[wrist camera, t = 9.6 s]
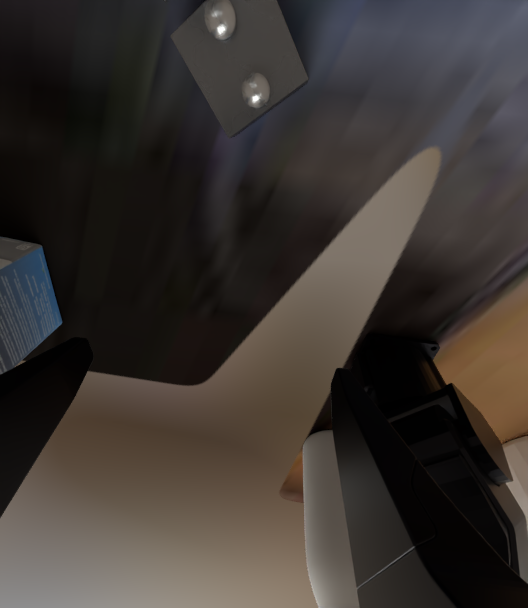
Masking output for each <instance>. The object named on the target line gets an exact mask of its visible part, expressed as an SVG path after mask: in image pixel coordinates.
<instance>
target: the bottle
mask: <svg viewBox="0 0 528 608" xmlns="http://www.w3.org/2000/svg"><path fill="white" fill-rule="evenodd" d="M502 447H503V450H504V453H505V456H506V459H507V462H508V465H509V468H510V471H511V474H512V477H513V481H512V482H508V483H506V485H507V486H508V488H509V489H510V491H511V493H512V494H513V496H514V498H515V499H516V501H517V503H518V504H519V506H520V508H521V509H522V511H523V513H524V515H525V517H526V521H527V532H528V436H524V437H521V438H517V439H514V440H511V441H509V442H507V443H505V444H502Z"/></svg>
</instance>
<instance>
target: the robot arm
mask: <svg viewBox="0 0 528 608" xmlns="http://www.w3.org/2000/svg"><path fill="white" fill-rule="evenodd" d="M370 339H372V340H370ZM431 347H432V348H431ZM439 349H440V347H439V345H438V343H437V342H434V341H427V340H419V339H411V338H403V337H395V336H387V335H379V334H368V335H367V336H366V337H365V339H364V342H363V344H362V347H361V350H360V352H358V353H357V354H356V356H355V359H354V362H353V364H352V367H351V369H350V370H349V369H344V368H337V369H336V371H335V374H334V377H333V379H332V382H331V410H332V431H333V438H334V445H335V451H336V458H337V464H338V471H339V477H340V484H341V490H342V497H343V503H344V510H345V516H346V523H347V529H348V536H349V542H350V549H351V555H352V562H353V568H354V575H355V581H356V587H357V595H358V601H359V608H528V532H527V521H526V517H525V515H524V513H523V511H522V509H521V508H520V506H519V504H518V503H517V501H516V499H515V498H514V496H513V494H512V493H511V491H510V489H509V488H508V486H507V485H506V483H508V482H512V481H513V477H512V474H511V471H510V468H509V465H508V462H507V459H506V456H505V453H504V450H503V447H502V444H501V442H500V440H499V439H498V437H497V436H496V434H495V433H494V431H493V430H492V428H491V427H490V426H489V424H488V423H487V421H486V420H485V418H484V417H483V415H482V414H481V413H480V412H479V410H478V409H477V408H476V407H475V406H474V405H473V404H472V403H471V402H470V401H469V400H468V399H467V398H466V397H465V396H464V395H463V394H462V393H461V392H460V391H459V390H458V389H457V388H456V387H455V385H454V384H453V383H450V384H448V385H446V383H445V382H444V380H443V378H442V376H441V374H440V373H439V371H438V369H437V367H436V366H435V364H434V362H433V359H434V357H435V355H436V354H437V352H438V351H439ZM93 357H94V355H93V351H92V349H91V346H90V344H89V341H88V340H87V339H86V338H79V337H74V338H71V339H69V340H67V341H65V342H63V343H61V344H59V345H57V346H55V347H53V348H52V349H50V350H48V351H46V352H44V353H42V354H40V355H38V356H36V357H34V358H32V359H30V360H28V361H26V362H24V363H22V364H20V365H18V366H16V367H14V368H12V369H10V370H8V371H6V372H4V373H2V374H0V518H1V516H2V514H3V513H4V511H5V509H6V508H7V506H8V505H9V503H10V501H11V500H12V498H13V497H14V495H15V493H16V492H17V490H18V489H19V487H20V485H21V484H22V482H23V480H24V479H25V477H26V476H27V474H28V472H29V471H30V469H31V468H32V466H33V464H34V463H35V461H36V460H37V458H38V456H39V455H40V453H41V451H42V449H43V448H44V446H45V445H46V443H47V442H48V440H49V439H50V437H51V435H52V434H53V432H54V430H55V429H56V427H57V426H58V424H59V422H60V421H61V419H62V418H63V416H64V414H65V412H66V411H67V409H68V408H69V406H70V405H71V403H72V401H73V400H74V397H75V396H76V394H77V392H78V390H79V388H80V385H81V384H82V382H83V380H84V377H85V376H86V373H87V371H88V369H89V367H90V365H91V363H92V361H93Z"/></svg>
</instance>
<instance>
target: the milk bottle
mask: <svg viewBox="0 0 528 608" xmlns="http://www.w3.org/2000/svg"><path fill="white" fill-rule="evenodd" d="M303 485H304V519H305V520H304V521H305V546H306V559H307V569H308V574H309V579H310V583H311V587H312V590H313V593H314V596H315V599H316V602H317V605H318V608H359V601H358V595H357V587H356V581H355V575H354V568H353V562H352V555H351V549H350V542H349V536H348V529H347V523H346V516H345V510H344V503H343V497H342V490H341V484H340V477H339V471H338V464H337V458H336V451H335V445H334V438H333V431H332V430H324V431H320V432H316V433H314V434H312V435H310V436H309V437H308V438H307V439H306V440H305V442H304V445H303Z"/></svg>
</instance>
